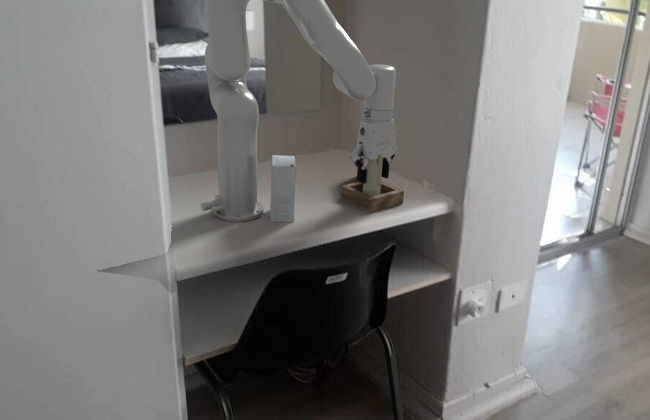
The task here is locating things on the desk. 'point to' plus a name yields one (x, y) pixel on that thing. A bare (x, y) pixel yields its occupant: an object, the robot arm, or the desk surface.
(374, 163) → the skincare box
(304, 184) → the desk surface
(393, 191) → the shallow wooden tray
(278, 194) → the skincare box
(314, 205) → the desk surface
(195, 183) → the desk surface
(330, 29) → the robot arm
